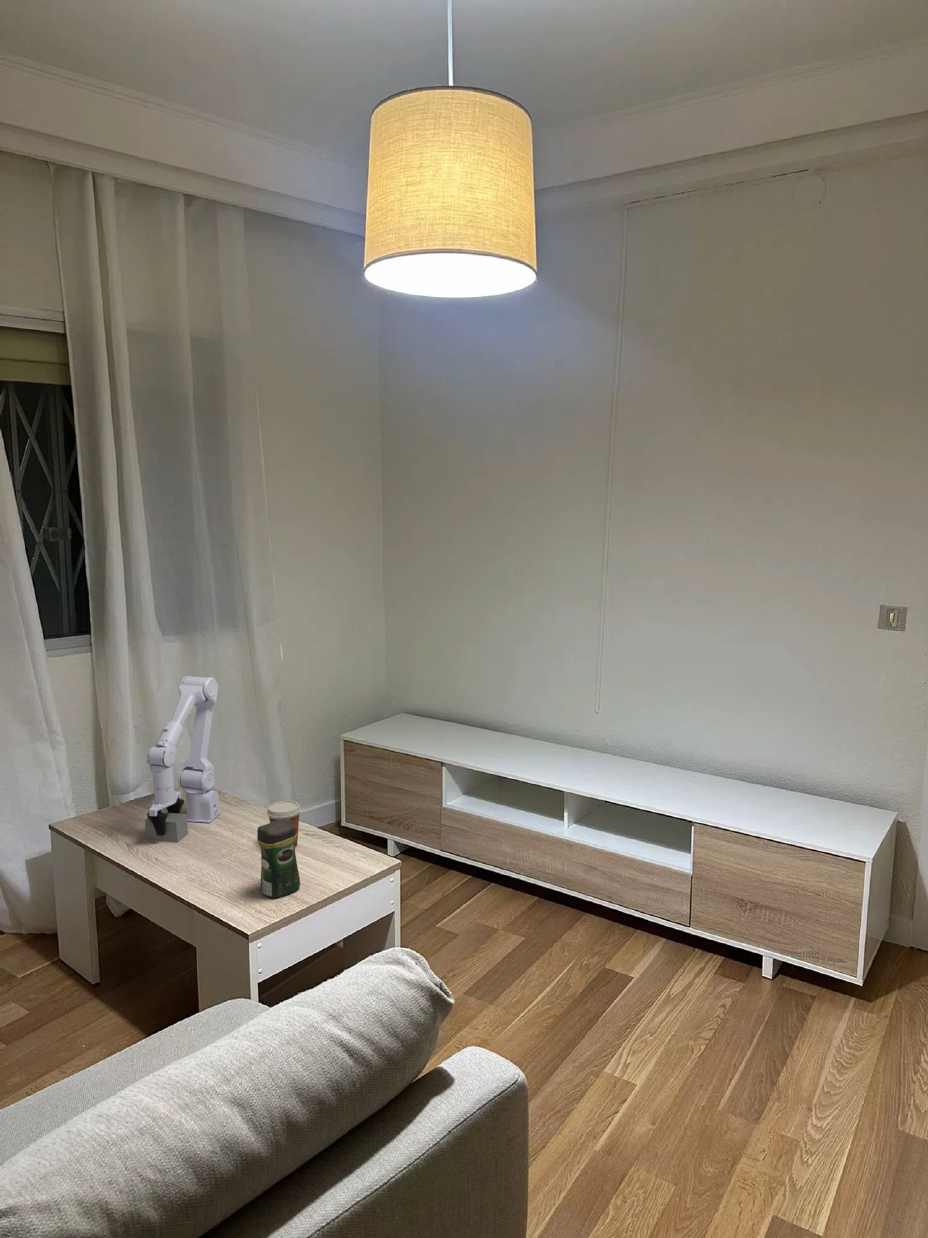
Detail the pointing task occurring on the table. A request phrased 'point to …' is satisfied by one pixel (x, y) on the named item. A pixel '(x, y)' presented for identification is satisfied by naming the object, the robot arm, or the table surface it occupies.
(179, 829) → the grey rectangular box
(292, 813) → the disposable coffee cup
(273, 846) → the coffee jar
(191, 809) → the robot arm
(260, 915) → the table surface
